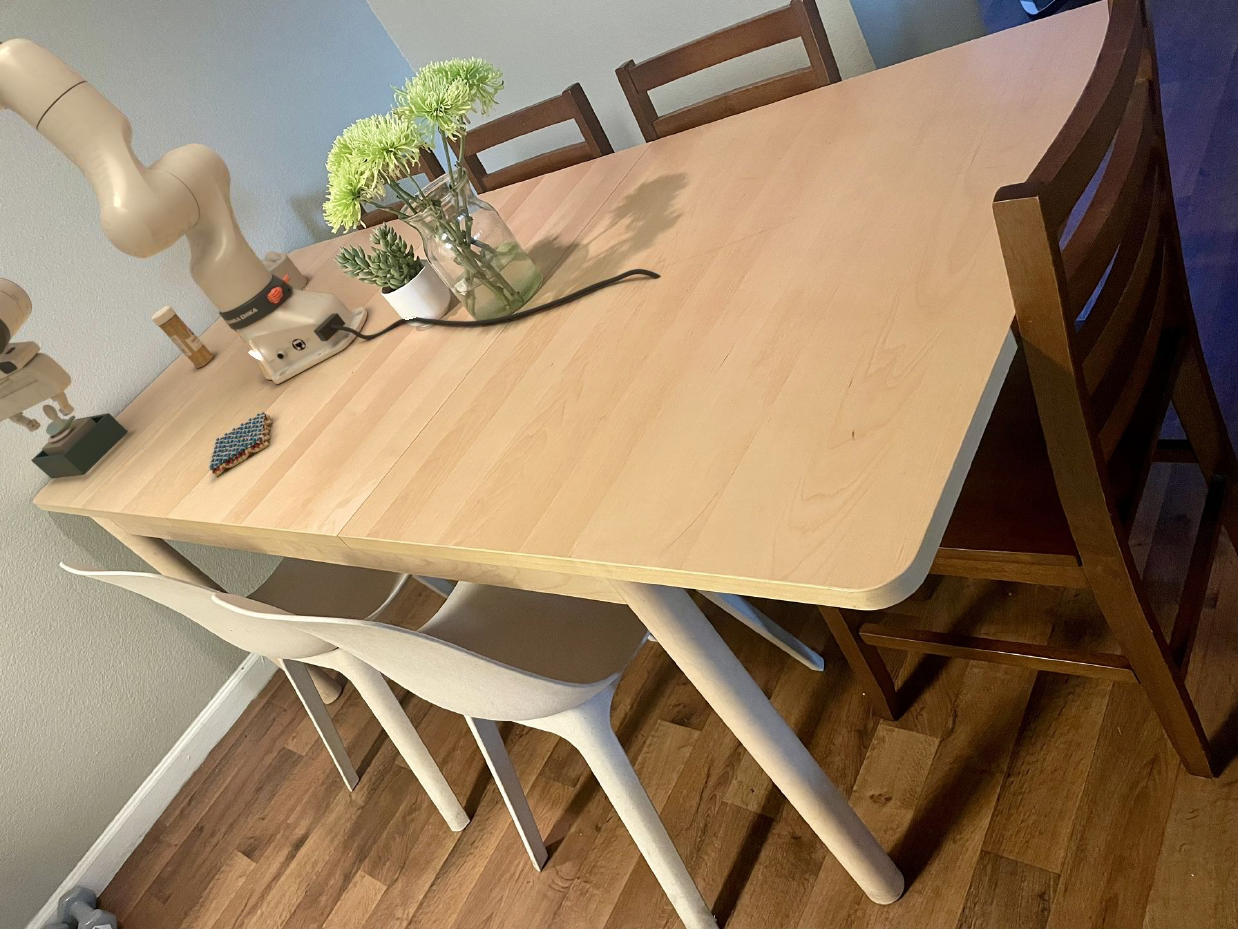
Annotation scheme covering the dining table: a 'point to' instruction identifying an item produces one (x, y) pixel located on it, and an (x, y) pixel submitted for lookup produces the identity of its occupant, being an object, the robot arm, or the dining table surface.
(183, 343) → the sprinkles bottle
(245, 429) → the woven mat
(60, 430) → the pacifier
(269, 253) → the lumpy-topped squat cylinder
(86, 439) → the crate
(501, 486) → the dining table surface
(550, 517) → the dining table surface
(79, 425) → the block
